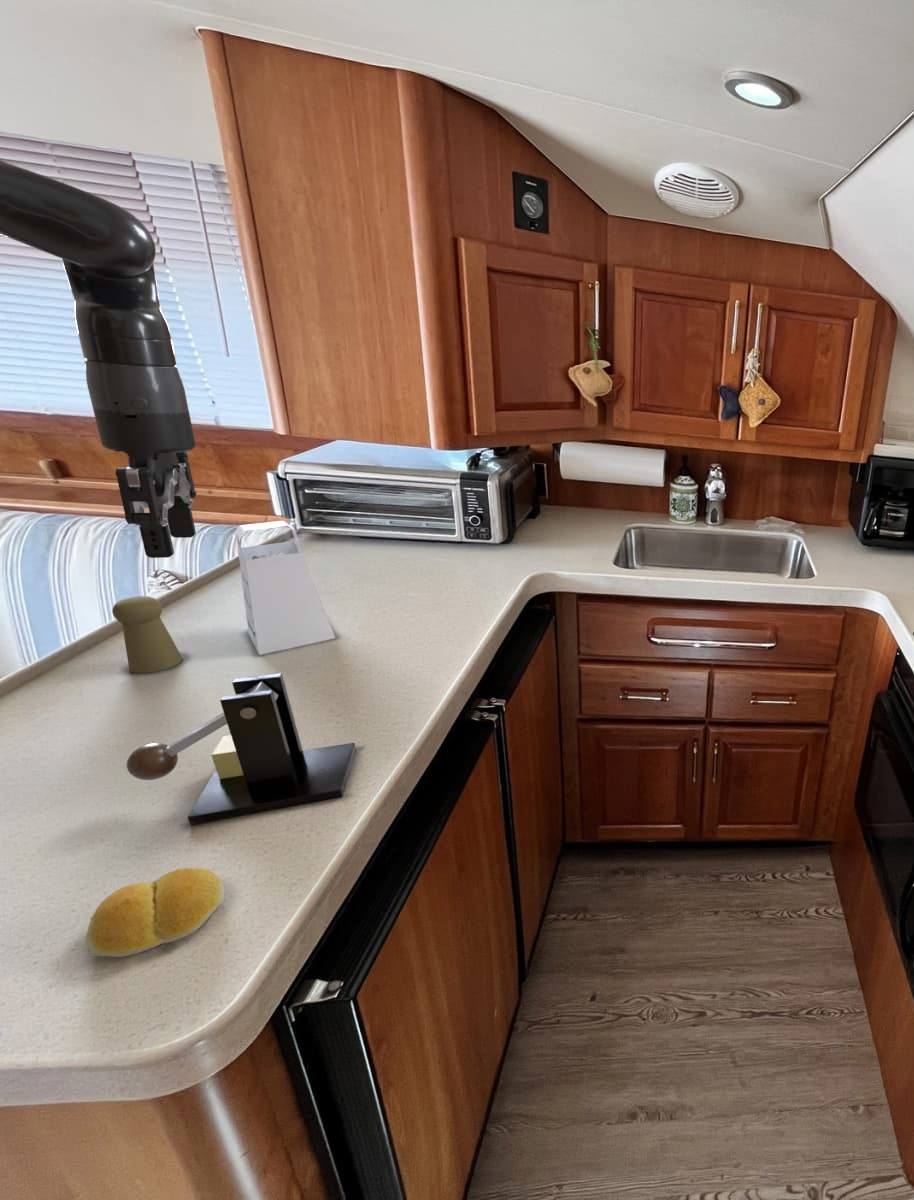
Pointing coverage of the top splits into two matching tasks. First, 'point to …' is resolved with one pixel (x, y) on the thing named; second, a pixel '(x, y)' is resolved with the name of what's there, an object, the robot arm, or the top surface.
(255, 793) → the slicer
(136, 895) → the bread roll
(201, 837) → the top surface
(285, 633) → the grater
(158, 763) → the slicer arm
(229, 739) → the butter
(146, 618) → the cork
